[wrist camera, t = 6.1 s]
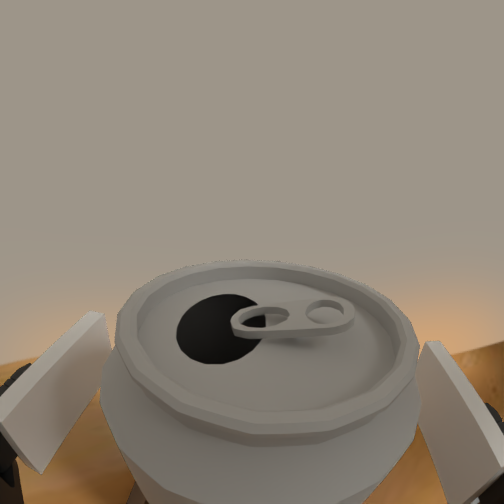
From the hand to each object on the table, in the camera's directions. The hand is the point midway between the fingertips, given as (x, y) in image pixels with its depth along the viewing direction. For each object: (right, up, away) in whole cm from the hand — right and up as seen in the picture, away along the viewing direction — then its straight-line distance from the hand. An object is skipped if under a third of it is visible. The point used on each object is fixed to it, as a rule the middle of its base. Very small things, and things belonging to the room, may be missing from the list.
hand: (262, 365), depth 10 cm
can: (-1, -8, -1) cm, 8 cm away
